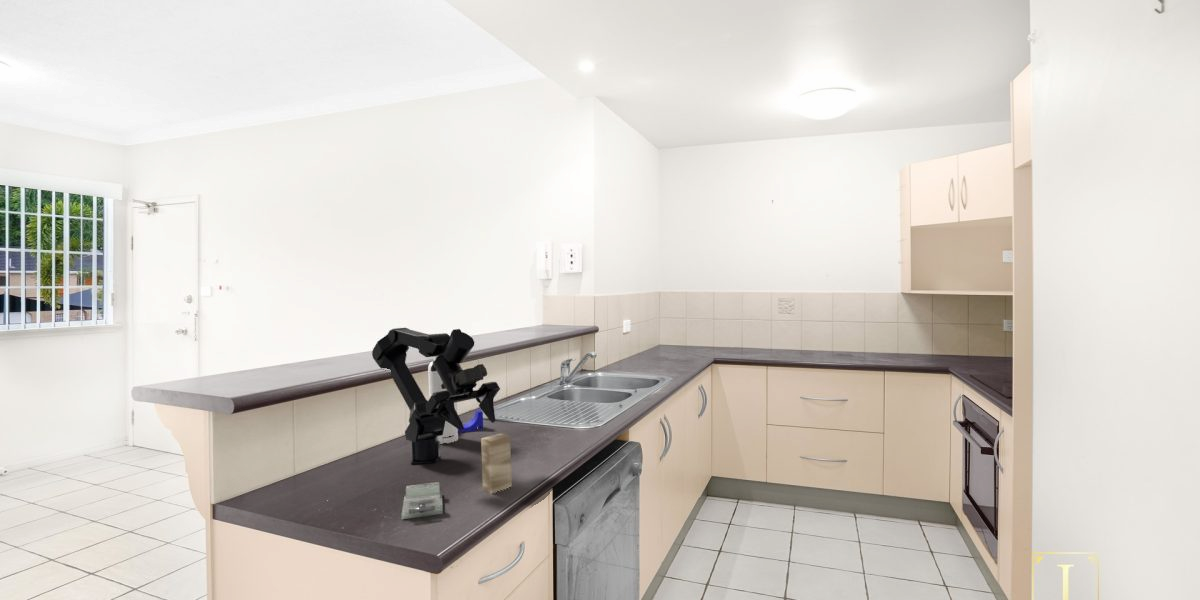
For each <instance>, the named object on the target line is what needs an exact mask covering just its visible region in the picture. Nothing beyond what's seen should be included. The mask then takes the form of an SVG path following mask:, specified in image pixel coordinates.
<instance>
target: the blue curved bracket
mask: <svg viewBox="0 0 1200 600" xmlns="http://www.w3.org/2000/svg"><path fill="white" fill-rule="evenodd" d="M463 427H464V429H463V431H460V430H459V429H458V432H457V433H458V434H461V433H460V432H462V433H468V432H467V431H469V432H474V430H476V431H481V430H480V429H482V430H484V412H483V411H482V410H481V409H475V414H474V417H473V418H471V419H470V420H469V421H468V422H466V423H463ZM477 427H478V429H479V430H478V429H477Z"/></svg>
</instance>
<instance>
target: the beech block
mask: <svg viewBox="0 0 1200 600" xmlns="http://www.w3.org/2000/svg"><path fill="white" fill-rule="evenodd" d="M480 444H481V445H480V446H481V447H480V448H481V449H480V450H481V472H482V473H481V474H482V476H481V478H482V491H483V490H484V491H483V492H486V493H488V492H489V493H488V494H491V493H494V492H497V491H499V492H501V491H500V490H502V489H505V490H507V489H506V488H508V489H510V488H509V487H511V486H513V485H512V484H513V483H512V480H513V479H512V454H511V453H512V452H511V451H512V449H511V435H508V434H506V433H505V434H504V433H502V432H499V433H497V434H493V435H490V436H489V435H488V436H486V437H481V438H480ZM511 488H512V487H511ZM502 491H503V490H502ZM497 493H498V492H497ZM494 494H495V493H494Z"/></svg>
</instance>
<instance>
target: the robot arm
mask: <svg viewBox="0 0 1200 600" xmlns="http://www.w3.org/2000/svg"><path fill="white" fill-rule="evenodd" d="M474 346H475V340H474V338H473V337H472V336H470V335H469V334H468V333H466V332H463V331H462V330H461V329H460V328H457V329H455V328H454V329H452V330H451V333H450V335H449V334H448V333H444V332H443V333H431V334H429V333H424V332H422V331H421V332H420V331H418V330H417V331H416V330H412V329H410V328H409V327H408V328H407V327H397V328H392V329H390V330H389V331H388V333H387V334H386V335H384V337H382V338H380V339H379V340H378V341H377V342H376V343H375V345H374V347H373V348H372V352H371V353H372V354H371V355H372V359H373V360H374V361H375V363H376V364H377V365H378V368H380V369H382V368H387V369H390V370H391V375H390V376H391V378H392V380H393V382H394V384H395V386H396V388H397V389H398V391H399V393H400V394H401V396H402V398H403V400H404V402H405V404H406V406H407V408H408V409H409V419H408V422H409V424H408V426H407V427H406V429H405V431H404V435H405V439H406V441H408V442H409V441H410V442H411V453H412V455H411V457H412V458H411V459H412V460H411V461H410V464H411V465H417V464H419V465H420V464H432V463H437V461H438V460H439V458H440V456H441V444H440V441H438V436H441V435H443V431H444V426H445V421H447V422H448V423H450V424H451V425H453V426H454V427H456V428H457V429H459V430H460V431H463V429H464V427H463V425H464V423H463V422H462V420H461V418H460V416H459V414H458V411H457V412H456V410H455V408H454V403H455V402H457V403H461V402H464V401H468V400H469V401H470V400H474V399H475V400H476V402H477V403H479V404H478V407H479V409H480V410H481V411H482V412H483V414H484V415H485V416H486V417H487V419H488V420H489V421H490V422H491V423H492V424H494V423H495V422H496V414H495V406H494V398H495V397H496V396H497V394H498V393H499V391H500V390H501V387H500V386H499V384H498V383H497V381H489V382H483V383H482V384H481V385H480V386H479V388H478V389H476V390H474V388H476V386H477V383H478V382H480V381H483V380H484V377H486V376H487V375H488V371H487V368H486V366H485V364H483V363H481V364H477V365H475V366H473V367H469V368H465V369H463V368H462V366H461V363H463V362H464V361H465V360H466V358H467V357H468V355H469V354H470V352H471V350H472V349H473V348H474ZM410 347H411V348H414V349H417V350H418V353H419V354H420V355H422V356H424V358H434V356H438V357H437V358H436V360H435V361H434V360H432V361H433V364H432V366H431V371H432V372H433V371H437V372H438V374H439V376H440V378H441V380H442V382H443V383H442V385H441V387H442V389H446V390H447V391H440V392H435V393H433V394H432V396H431V397H430V399H429V398H428V400H427V398H426V396H425V395H424V393H423V392H422V390H421V387H420V386H419V384H418V382H417V381H416V379H415V377H414V376H413V374H412V372H411V371H410V369H409V367H408V365H407V363H406V361H407V360H406V359H407V355H408V354H407V352H408V351H409V349H410Z"/></svg>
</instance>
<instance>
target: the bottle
mask: <svg viewBox="0 0 1200 600" xmlns="http://www.w3.org/2000/svg"><path fill="white" fill-rule="evenodd" d="M437 357H438V356H434V357H433V360H432V361H431V362H429V364H428V367H427V371H428V372H427V373H428V394H429V395H428V400H429V399H430V397H431V396H432V394H433V393H435V392H440V391H447V390H446V389H442V387H441V385H442V383H443V382H442V380H441V378H440V376H439V374H438V372H437V371H433V372H432V371H431V366H432V364H433V361H435V360H436V358H437ZM454 408H455V410H456V412H457V413H458V402H455V403H454ZM457 432H458V429H457V428H456V427H454V426H453V425H451V424H450V423H448V422H447V421H445V426H444V431H443V435H441V436H438V441H440V445H444V444H443V443H447V444H451V442H452V443H454V441H455V442H457V441H458V440H459V433H457ZM449 436H451V437H449Z"/></svg>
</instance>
